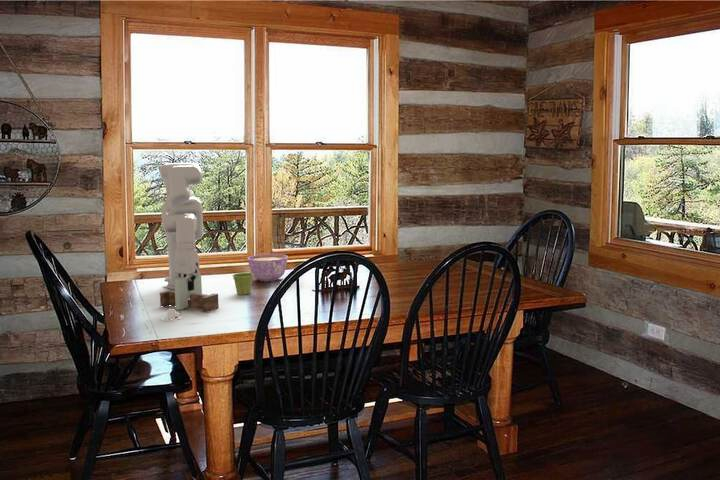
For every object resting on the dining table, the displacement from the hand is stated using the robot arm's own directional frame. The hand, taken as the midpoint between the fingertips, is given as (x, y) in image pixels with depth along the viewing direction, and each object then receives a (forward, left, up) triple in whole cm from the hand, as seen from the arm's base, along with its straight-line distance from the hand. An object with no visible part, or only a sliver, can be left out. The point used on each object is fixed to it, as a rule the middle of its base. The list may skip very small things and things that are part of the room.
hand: (188, 289), depth 288 cm
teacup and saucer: (+9, -16, -8) cm, 20 cm away
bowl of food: (-2, +61, -8) cm, 61 cm away
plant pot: (+5, +31, -8) cm, 32 cm away
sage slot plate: (0, 0, -7) cm, 7 cm away
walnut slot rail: (0, 0, -8) cm, 8 cm away
